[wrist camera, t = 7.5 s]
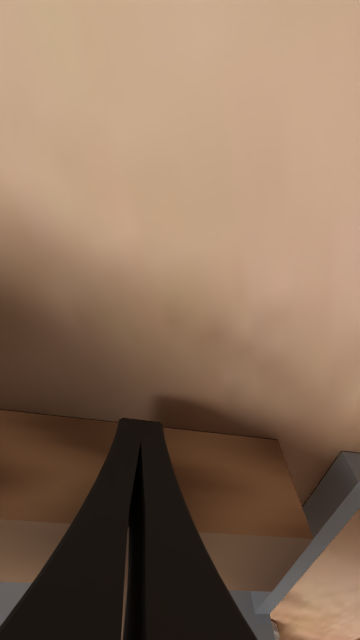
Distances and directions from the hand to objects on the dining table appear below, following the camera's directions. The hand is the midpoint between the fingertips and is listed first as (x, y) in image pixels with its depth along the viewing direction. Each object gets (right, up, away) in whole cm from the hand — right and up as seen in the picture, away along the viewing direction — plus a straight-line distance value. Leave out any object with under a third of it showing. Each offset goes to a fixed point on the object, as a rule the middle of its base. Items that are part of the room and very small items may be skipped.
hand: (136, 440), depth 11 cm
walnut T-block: (-1, -5, +5) cm, 7 cm away
